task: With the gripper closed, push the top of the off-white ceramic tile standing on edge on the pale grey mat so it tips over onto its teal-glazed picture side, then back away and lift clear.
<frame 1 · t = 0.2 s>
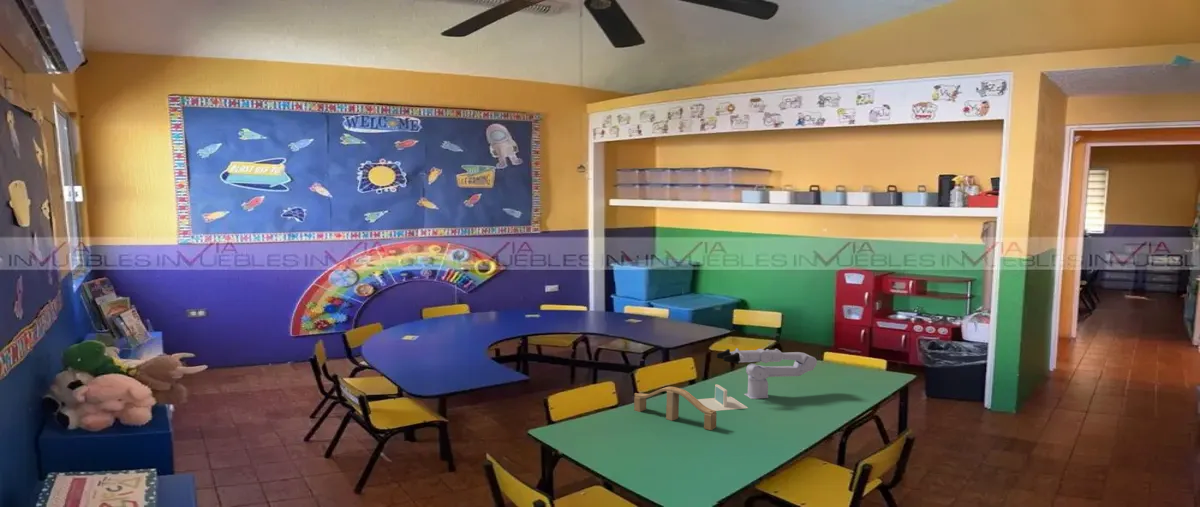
hand: (720, 357, 345), 21 cm above the table, fingers open, 7 cm apart
tile: (720, 403, 340), resting on mat
toy bridge: (672, 419, 319), on the table
mat: (718, 404, 340), on the table
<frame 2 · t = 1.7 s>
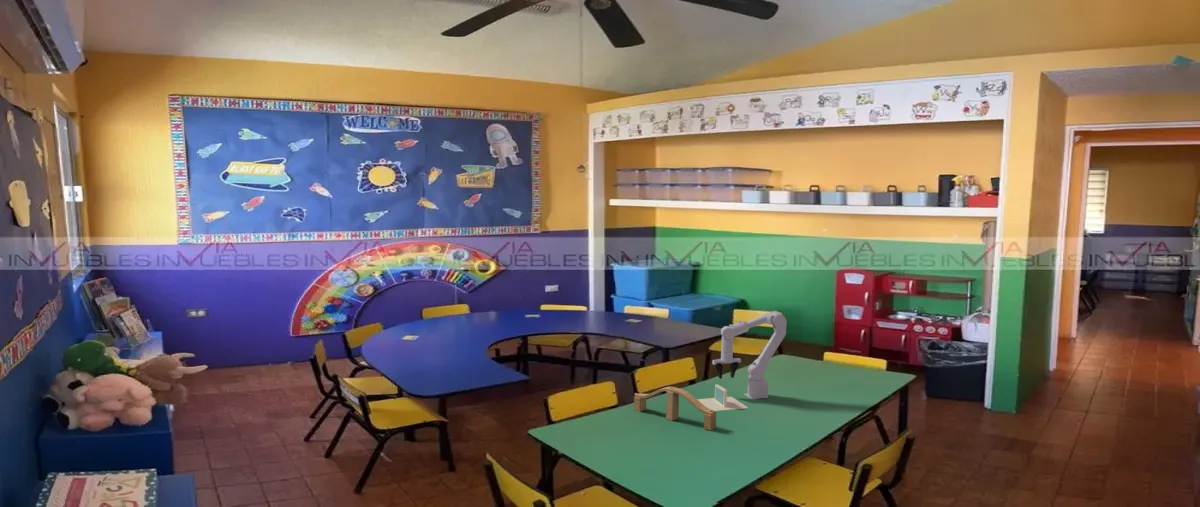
hand: (726, 377, 352), 9 cm above the table, fingers open, 6 cm apart
nothing on the table moved.
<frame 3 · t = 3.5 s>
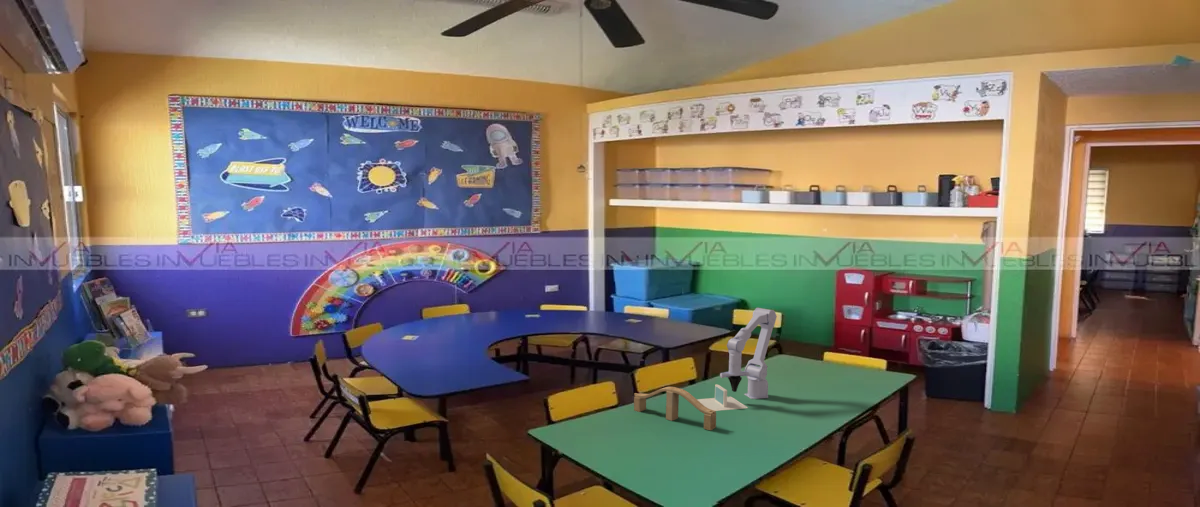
hand: (734, 391, 341), 6 cm above the table, fingers closed
nothing on the table moved.
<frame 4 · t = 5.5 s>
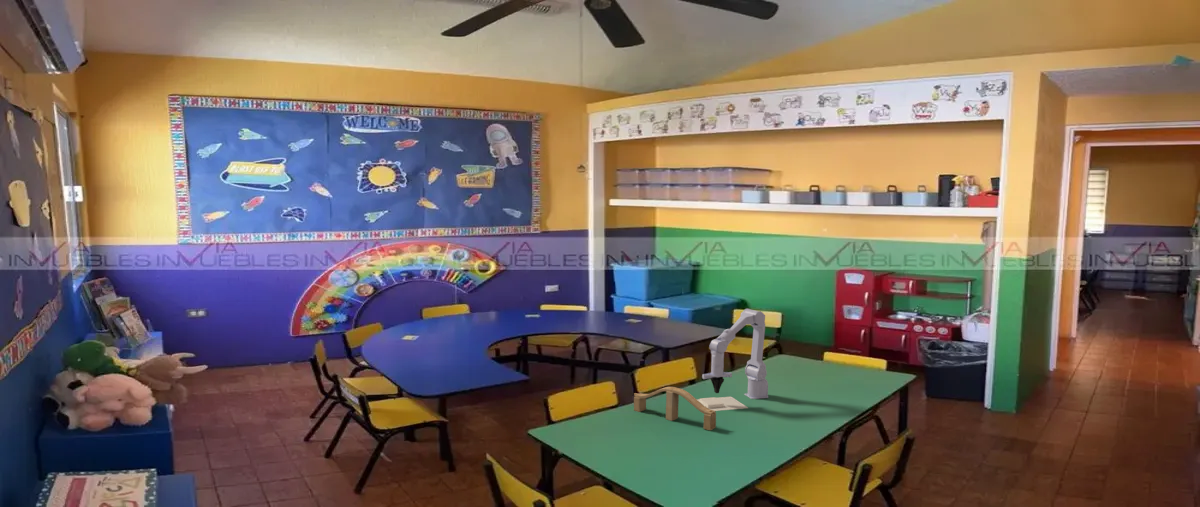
hand: (716, 392, 339), 6 cm above the table, fingers closed
tile: (719, 401, 340), point 1 cm above the table, tilted 90°, touching mat
everything else where it was.
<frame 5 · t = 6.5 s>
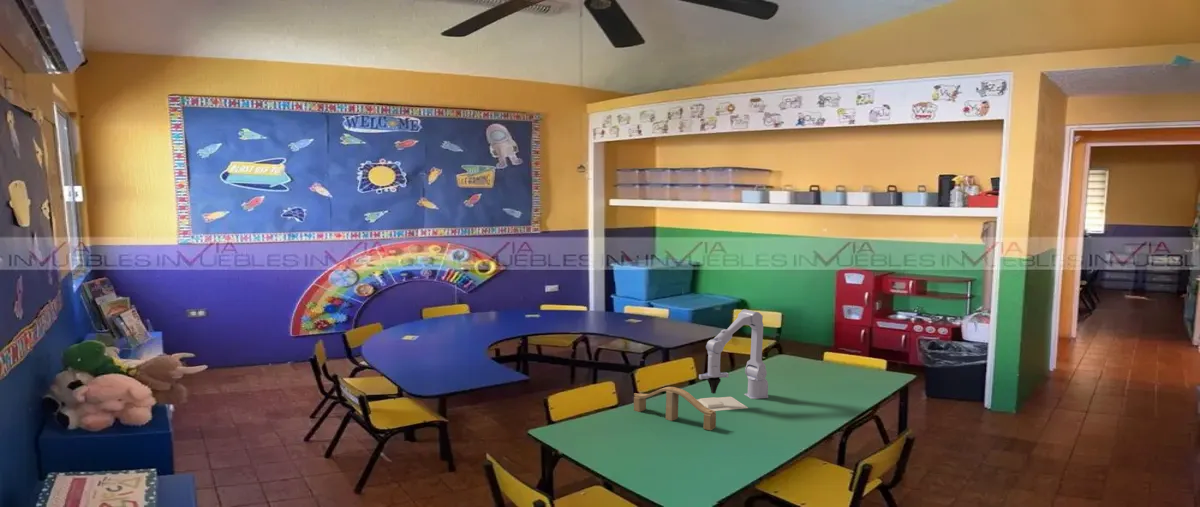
hand: (713, 392, 338), 6 cm above the table, fingers closed
nothing on the table moved.
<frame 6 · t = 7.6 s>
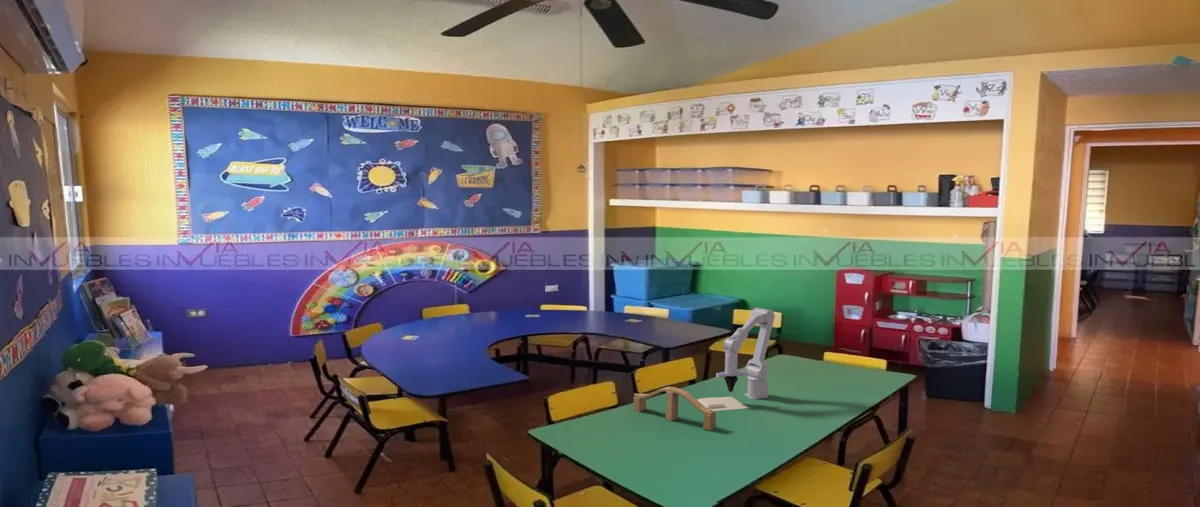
hand: (730, 391, 341), 6 cm above the table, fingers closed
nothing on the table moved.
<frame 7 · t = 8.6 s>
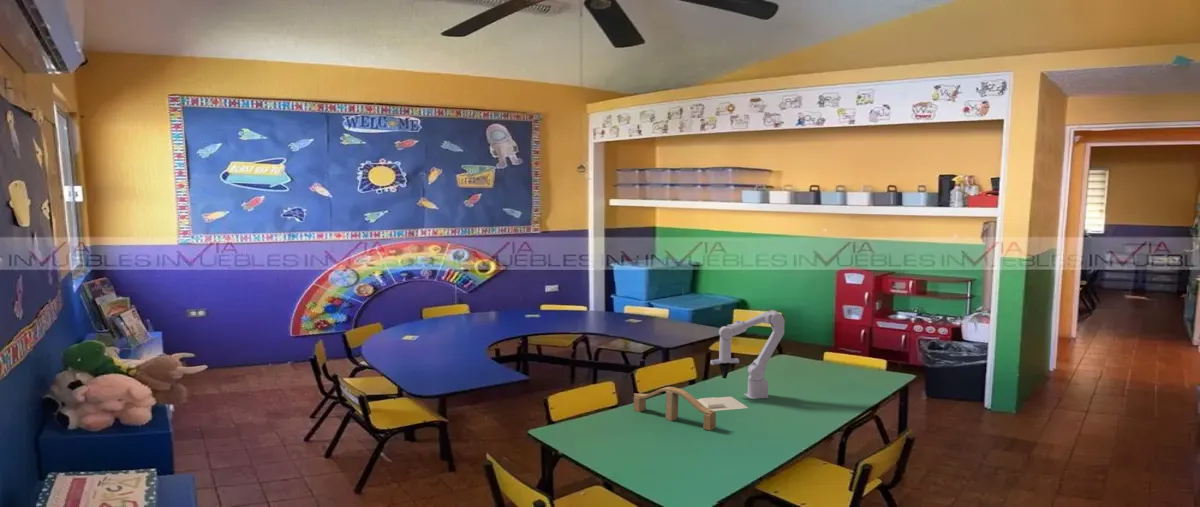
hand: (724, 377, 352), 9 cm above the table, fingers closed
nothing on the table moved.
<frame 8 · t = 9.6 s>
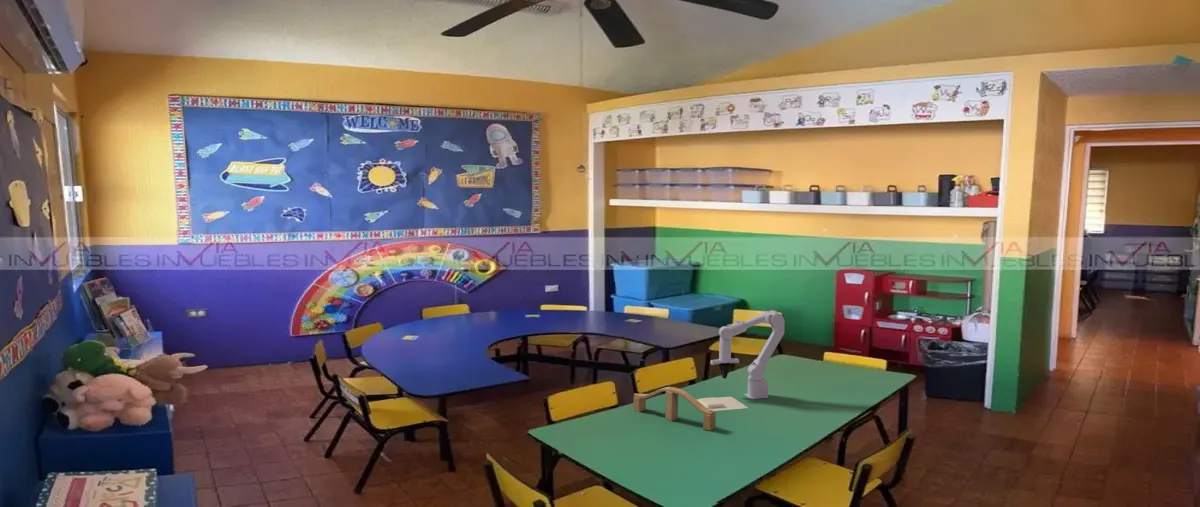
hand: (724, 377, 352), 9 cm above the table, fingers closed
nothing on the table moved.
at the end: tile tilted 90°; tile inside the target area (1.2 cm from its centre), point 1.2 cm above the table; the gripper is holding nothing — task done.
